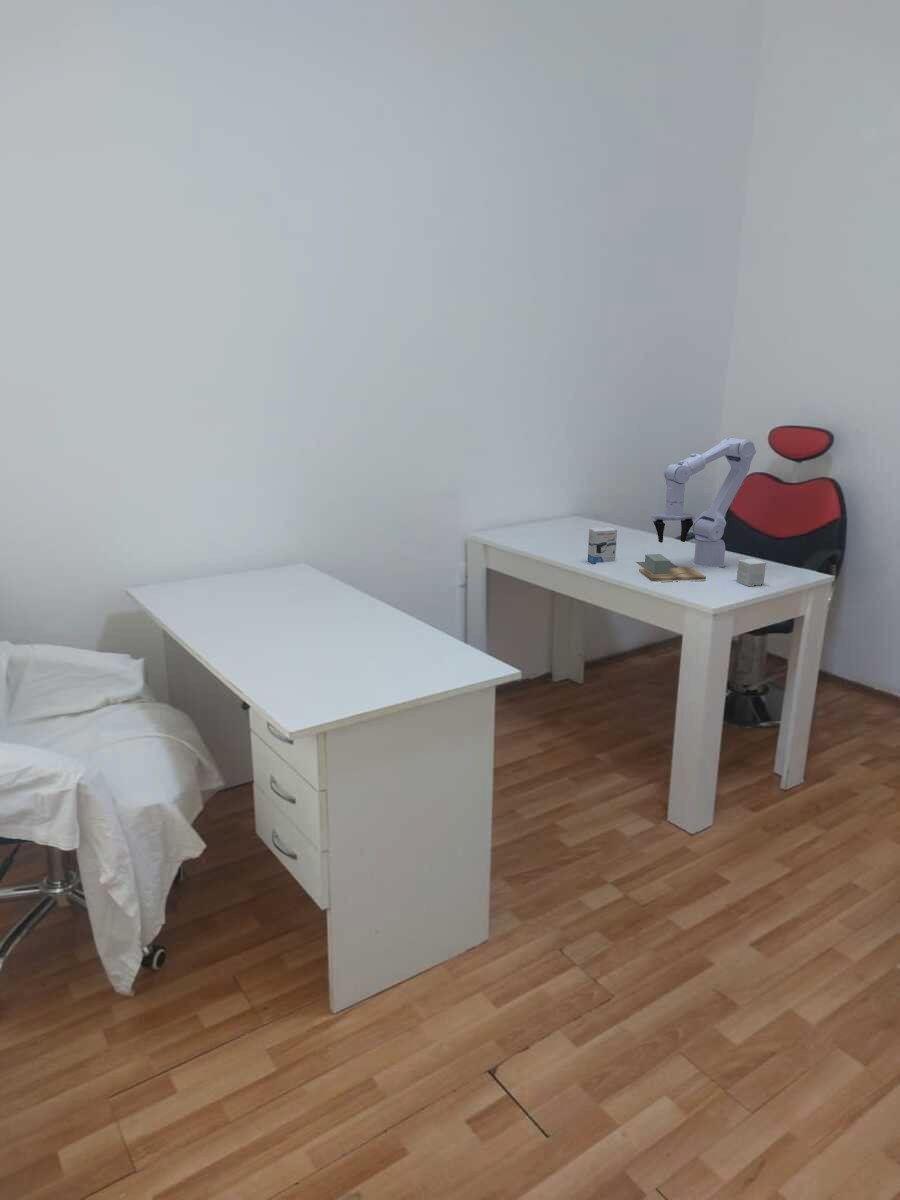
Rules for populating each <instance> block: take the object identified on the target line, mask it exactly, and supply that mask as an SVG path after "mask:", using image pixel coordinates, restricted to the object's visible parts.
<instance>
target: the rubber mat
mask: <svg viewBox="0 0 900 1200" xmlns="http://www.w3.org/2000/svg"><path fill="white" fill-rule="evenodd" d="M635 563H636V564H637V565H639V566H640V567H641V568H642V569H644V568H645V561H635ZM669 568H680V567H678V565H675V564H674V563H673V562H672V561H670V567H669Z"/></svg>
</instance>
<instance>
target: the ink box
mask: <svg viewBox="0 0 900 1200" xmlns="http://www.w3.org/2000/svg"><path fill="white" fill-rule="evenodd" d="M617 534H618V530H617V529H615V528H613V527H612V526H602V527H601V526H600V527H591V528H589V531H588V549H587V562H589V563H591V564H592V565H597V563H610V562H616V556H617V555H616V554H617V553H616V551H617V537H618V536H617Z"/></svg>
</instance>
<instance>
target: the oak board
mask: <svg viewBox="0 0 900 1200" xmlns="http://www.w3.org/2000/svg"><path fill="white" fill-rule="evenodd" d="M638 572H639V573H640V574H641V575H643V576H644V577H645V578H647V579H648V580H649V581H650V582H667V583H674V582H673V581H676V582H675V583H679V582H678V581H700V582H706V581H707V580H706V579H707V576H706V575H704V574H702V573H701V572H700V571H698V570H697V569H695V568H694V567H691V566H687V567H679V568H669V576H653V575H651V574H650V573H649V572H647V571H646V570H645V569H644V568H638Z"/></svg>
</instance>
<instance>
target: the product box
mask: <svg viewBox="0 0 900 1200" xmlns="http://www.w3.org/2000/svg"><path fill="white" fill-rule="evenodd" d="M766 565H767V563H766V562H765V561H762V560H759V559H756V558H754V557H753V558H746V559H738V563H737V573H736V583H738V584H741V585H744V586H746V587H755V586H754V585H756V586H762V585H761V584H763V585H765V577H766V576H765V575H766V568H767V567H766Z"/></svg>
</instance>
